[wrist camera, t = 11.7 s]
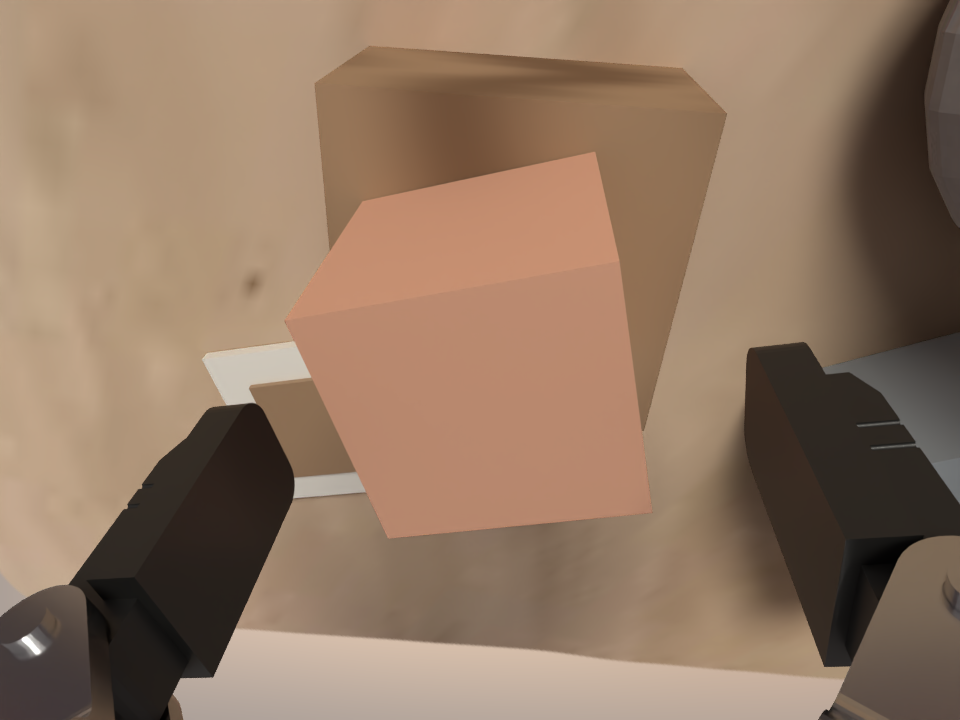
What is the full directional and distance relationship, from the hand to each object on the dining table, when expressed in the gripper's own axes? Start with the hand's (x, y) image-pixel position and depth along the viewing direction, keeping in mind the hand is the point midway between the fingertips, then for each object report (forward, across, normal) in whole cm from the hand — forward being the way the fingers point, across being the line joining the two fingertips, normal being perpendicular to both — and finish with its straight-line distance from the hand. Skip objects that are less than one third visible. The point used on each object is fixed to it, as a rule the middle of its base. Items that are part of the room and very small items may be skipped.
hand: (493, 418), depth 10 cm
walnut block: (+10, 0, 0) cm, 10 cm away
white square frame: (+10, +8, +7) cm, 14 cm away
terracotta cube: (+5, 0, 0) cm, 5 cm away
